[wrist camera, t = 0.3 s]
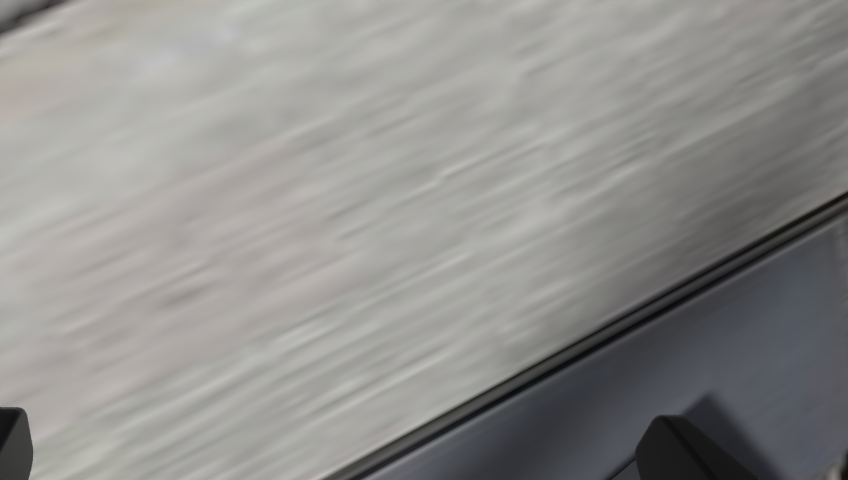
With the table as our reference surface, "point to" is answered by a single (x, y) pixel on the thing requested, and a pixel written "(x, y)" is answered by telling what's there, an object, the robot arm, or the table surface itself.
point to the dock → (628, 473)
